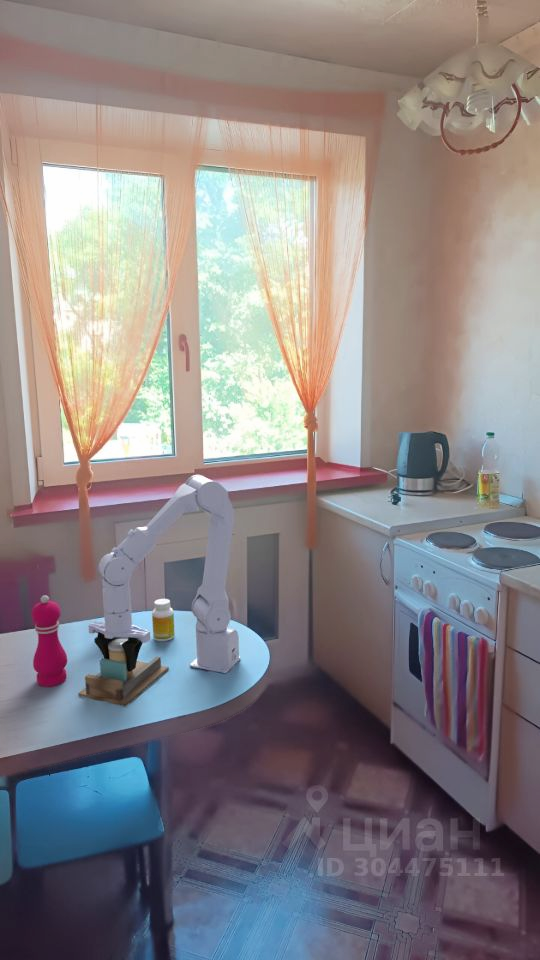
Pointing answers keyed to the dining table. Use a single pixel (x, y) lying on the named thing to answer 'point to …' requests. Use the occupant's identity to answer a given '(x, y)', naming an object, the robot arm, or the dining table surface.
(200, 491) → the robot arm
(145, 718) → the dining table surface
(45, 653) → the pepper mill
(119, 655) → the jar
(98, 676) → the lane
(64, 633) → the dining table surface
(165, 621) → the supplement bottle
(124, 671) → the pusher
